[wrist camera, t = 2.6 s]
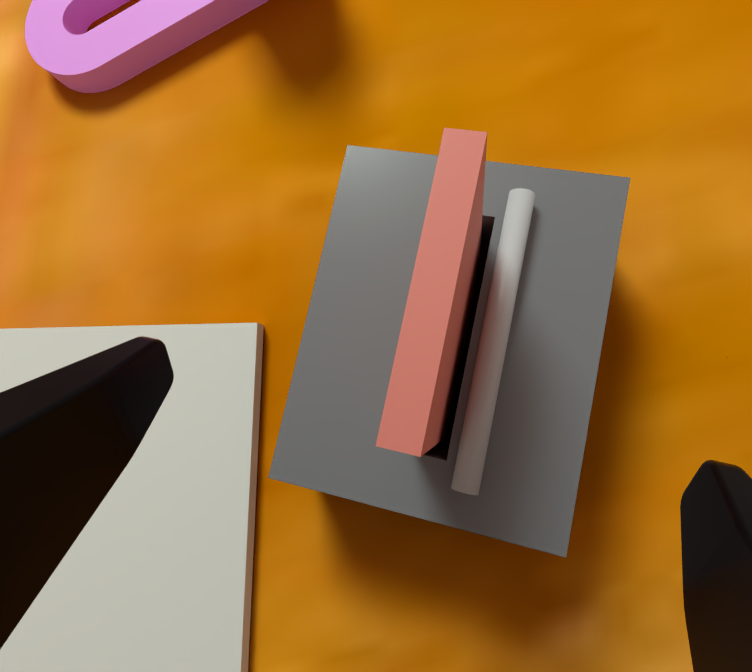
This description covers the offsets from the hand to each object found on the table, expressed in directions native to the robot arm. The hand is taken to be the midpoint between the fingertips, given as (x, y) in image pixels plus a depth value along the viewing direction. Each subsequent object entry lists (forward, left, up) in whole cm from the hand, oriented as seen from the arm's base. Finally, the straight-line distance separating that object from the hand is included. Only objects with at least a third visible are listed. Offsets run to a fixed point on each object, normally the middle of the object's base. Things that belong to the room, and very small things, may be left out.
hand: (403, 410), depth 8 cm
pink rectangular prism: (+2, -1, -9) cm, 10 cm away
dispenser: (+2, -1, -9) cm, 10 cm away
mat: (-4, +12, -9) cm, 16 cm away
